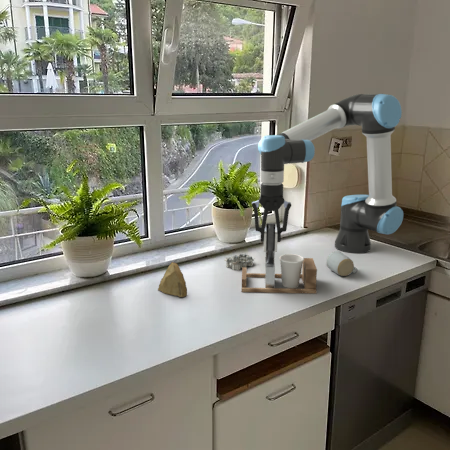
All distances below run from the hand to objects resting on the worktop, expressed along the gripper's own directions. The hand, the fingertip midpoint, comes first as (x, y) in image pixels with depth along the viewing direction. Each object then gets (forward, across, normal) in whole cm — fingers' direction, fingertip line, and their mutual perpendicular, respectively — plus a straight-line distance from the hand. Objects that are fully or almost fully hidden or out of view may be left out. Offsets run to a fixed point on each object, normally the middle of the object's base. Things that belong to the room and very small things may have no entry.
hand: (270, 250), depth 159 cm
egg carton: (+13, -11, +18) cm, 25 cm away
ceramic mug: (+13, +28, +13) cm, 33 cm away
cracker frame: (+13, +3, 0) cm, 13 cm away
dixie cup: (+13, +7, 0) cm, 15 cm away
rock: (+13, -33, -9) cm, 36 cm away
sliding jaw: (+13, 0, 0) cm, 13 cm away
